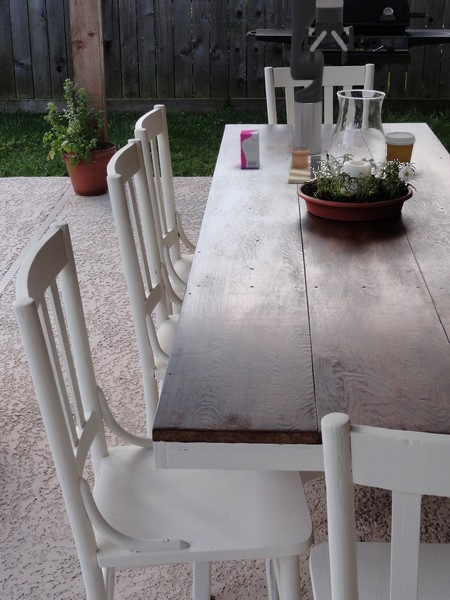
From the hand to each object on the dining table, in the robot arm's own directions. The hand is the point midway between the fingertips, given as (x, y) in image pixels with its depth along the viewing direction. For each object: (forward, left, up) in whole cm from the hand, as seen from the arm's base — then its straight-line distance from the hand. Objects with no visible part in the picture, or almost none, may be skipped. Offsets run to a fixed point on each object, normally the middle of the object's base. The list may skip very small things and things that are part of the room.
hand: (328, 64), depth 231 cm
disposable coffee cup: (-2, +22, -33) cm, 40 cm away
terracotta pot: (-6, -8, -32) cm, 33 cm away
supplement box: (-10, -24, -33) cm, 42 cm away
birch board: (-3, -6, -33) cm, 34 cm away
